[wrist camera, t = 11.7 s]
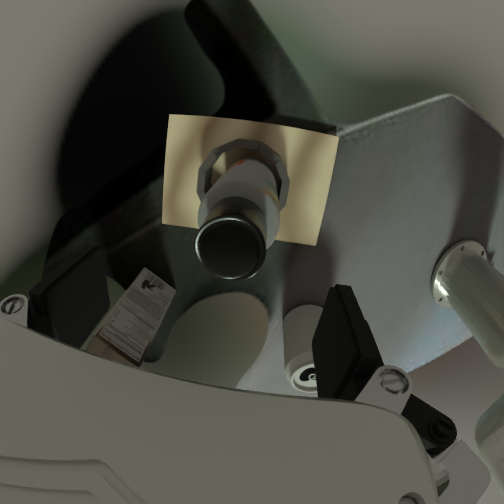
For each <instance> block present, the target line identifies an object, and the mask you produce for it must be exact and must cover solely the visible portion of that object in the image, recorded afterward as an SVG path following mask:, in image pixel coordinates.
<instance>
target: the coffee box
mask: <svg viewBox="0 0 504 504" xmlns="http://www.w3.org/2000/svg"><path fill="white" fill-rule="evenodd" d="M175 293H176V290H175V289H174V288H172V287H171V286H170V285H168V284H167V283H166V282H164V281H163V280H162V279H160V278H159V277H158V276H156V275H155V274H154V273H152V272H151V271H150V270H148V269H147V268H146V267H144V268H143V269H142V270H141V272H140V273H139V274H138V276H137V277H136V278H135V279H134V281H133V282H132V283H131V284H130V286H129V287H128V288H127V290H126V291H125V292H124V294H123V295H122V296H121V298H120V299H119V300H118V302H117V303H116V304H115V306H114V307H113V308H112V310H111V311H110V312H109V314H108V315H107V317H106V318H105V320H104V321H103V322H102V324H101V325H100V327H99V328H98V330H97V331H96V332H95V334H94V335H93V337H92V339H91V340H90V343H89V345H88V347H87V349H86V351H88V352H91V353H93V354H96V355H99V356H102V357H105V358H109V359H112V360H115V361H118V362H121V363H125V364H128V365H131V366H135V367H138V368H140V366H141V364H142V362H143V359H144V357H145V355H146V353H147V351H148V349H149V346H150V344H151V342H152V340H153V338H154V336H155V334H156V332H157V330H158V327H159V325H160V323H161V321H162V319H163V317H164V315H165V313H166V311H167V309H168V307H169V305H170V303H171V301H172V299H173V297H174V295H175Z"/></svg>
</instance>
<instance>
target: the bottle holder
mask: <svg viewBox="0 0 504 504" xmlns="http://www.w3.org/2000/svg"><path fill="white" fill-rule="evenodd" d="M338 140H339V137H337V136H332V135H328V134H323V133H319V132H314V131H309V130H304V129H299V128H293V127H288V126H282V125H276V124H269V123H263V122H255V121H248V120H239V119H230V118H220V117H208V116H194V115H193V116H192V115H172V114H170V116H169V124H168V134H167V145H166V157H165V171H164V188H163V214H162V223H163V224H170V225H178V226H185V227H192V228H199V227H198V220H197V217H198V210H199V206H200V203H201V201H202V199H203V198H204V196H205V195H206V193H207V192H208V191H209V190H210V188H211V187H212V186H213V185H214V184H215V183H216V182H217V181H218V180H219V179H220V177H221V176H222V175H223V174H224V173H225V172H226V171H227V170H228V169H229V168H230V167H231V166H232V165H233V164H234V163H235V162H237V161H238V160H240V159H243V158H249V157H252V158H257V159H260V160H262V161H264V162H265V163H267V164H268V165H269V167H270V168H271V169H272V171H273V174H274V177H275V182H276V189H277V195H278V202H279V209H280V227H279V231H278V234H277V236H276V238H275V240H281V241H287V242H294V243H300V244H307V245H313V246H316V243H317V239H318V235H319V230H320V226H321V222H322V218H323V213H324V209H325V204H326V200H327V195H328V191H329V186H330V181H331V176H332V172H333V167H334V161H335V156H336V151H337V146H338Z"/></svg>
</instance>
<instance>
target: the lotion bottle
mask: <svg viewBox="0 0 504 504" xmlns="http://www.w3.org/2000/svg"><path fill="white" fill-rule="evenodd" d="M197 220H198V227H199V230H198V232H197V234H196V237H195V241H194V250H195V254H196V256H197V258H198V260H199V262H200V263H201V264H202V266H203V267H204V268H205V269H207V270H208V271H209V272H210V273H212V274H214V275H215V276H217V277H220V278H222V279H226V280H230V281H241V280H245V279H248V278H250V277H252V276H253V275H255V274H256V273H257V272H258V271H259V270H260V268H261V267H262V265H263V263H264V260H265V256H266V249H267V248H268V247H269V246H270V245H271V244H272V243H273V241H274V240H275V238H276V236H277V234H278V231H279V227H280V209H279V202H278V195H277V189H276V182H275V177H274V174H273V171H272V169H271V168H270V167H269V165H268V164H267V163H265V162H264V161H262V160H260V159H257V158H252V157H249V158H243V159H240V160H238V161H237V162H235V163H234V164H233V165H232V166H231V167H230V168H229V169H228V170H227V171H226V172H225V173H224V174H223V175H222V176H221V177H220V179H219V180H218V181H217V182H216V183H215V184H214V185H213V186H212V187H211V188H210V190H209V191H208V192H207V193H206V195H205V196H204V198H203V199H202V201H201V203H200V206H199V210H198V217H197Z"/></svg>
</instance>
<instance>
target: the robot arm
mask: <svg viewBox="0 0 504 504" xmlns="http://www.w3.org/2000/svg"><path fill="white" fill-rule="evenodd" d="M431 292H432V296H433V297H434V299H435V301H436V302H437V303H438V304H439V305H440V306H442V307H445V308H453V309H454V310H455V311H456V313H457V314H458V315H459V317H460V318H461V319H462V321H463V322H464V323H465V325H466V326H467V327H468V329H469V330H470V331H471V333H472V334H473V336H474V337H475V338H476V340H477V341H478V343H479V344H480V346H481V347H482V348H483V350H484V351H485V353H486V354H487V356H488V357H489V359H490V360H491V361H492V363H493V364H495V365H496V366H498V367H500V368H503V369H504V276H503V275H502V274H501V273H500V272H499V271H498V270H497V269H495V268H494V267H493V266H492V265H491V264H490V263H488V262H487V254H486V251H485V249H484V248H483V246H482V245H481V244H479V243H478V242H476V241H474V240H463V241H460V242H458V243H456V244H454V245H453V246H452V247H450V248H449V249H448V250H447V251H446V252H445V253H444V255H443V256H442V257H441V259H440V260H439V262H438V264H437V265H436V268H435V270H434V272H433V276H432V280H431ZM29 294H30V298H31V299H30V300H29V301H28V299H27V298H26V297H25V296H23V295H20V294H16V295H12V296H9V297H7V298H5V299H4V300H2V301H1V303H0V504H476V503H477V501H478V500H479V499H480V497H481V496H482V495H483V493H484V492H485V490H486V489H487V487H488V485H489V483H490V479H491V477H492V479H493V480H494V482H495V484H496V486H497V487H498V489H499V491H500V493H501V495H502V497H503V499H504V393H503V394H502V395H501V396H500V397H499V398H498V399H497V400H496V401H495V402H494V403H493V404H492V405H491V406H490V407H489V408H488V409H487V410H486V411H485V413H483V415H482V416H481V417H480V418H479V420H478V421H477V423H476V424H475V427H474V431H473V439H474V444H475V447H476V449H477V452H478V454H479V456H480V458H481V459H482V461H483V462H482V461H481V460H480V458H479V457H478V456H477V455H476V454H475V453H474V452H473V451H472V450H471V449H470V448H469V447H468V446H467V444H466V443H465V442H463V440H462V439H461V440H460V441H458V440H457V439H456V436H457V430H456V427H455V424H454V423H453V421H452V420H451V419H450V418H449V417H447V416H446V415H444V414H442V413H441V412H439V411H438V410H436V409H435V408H433V407H431V406H430V405H428V404H427V403H425V402H424V401H422V400H420V399H419V398H417V397H416V396H414V395H413V394H411V392H412V388H413V384H412V380H411V378H410V376H409V375H408V374H407V373H406V372H405V371H404V370H402V369H401V368H398V367H396V366H391V365H385V366H384V363H383V361H382V358H381V355H380V353H379V350H378V347H377V345H376V342H375V340H374V337H373V335H372V332H371V330H370V327H369V325H368V323H367V321H366V320H365V319H364V317H363V314H362V312H361V309H360V307H359V304H358V302H357V300H356V297H355V295H354V293H353V290H352V288H351V286H347V285H340V284H336V285H335V287H331V288H330V289H329V292H328V295H327V298H326V301H325V304H324V307H323V310H322V313H321V316H320V319H319V322H318V325H317V328H316V330H315V333H314V336H313V339H312V353H313V361H314V368H315V376H316V384H317V392H318V398H317V397H305V396H292V395H282V394H274V393H265V392H257V391H249V390H242V389H235V388H229V387H223V386H217V385H212V384H207V383H202V382H197V381H191V380H187V379H182V378H178V377H174V376H169V375H165V374H161V373H157V372H153V371H149V370H146V369H142V368H138V367H135V366H131V365H128V364H125V363H121V362H118V361H115V360H112V359H109V358H105V357H102V356H99V355H96V354H93V353H91V352H88V351H85V350H82V349H80V347H81V346H82V345H83V343H84V342H85V341H86V339H87V338H88V336H89V335H90V334H91V332H92V331H93V330H94V328H95V327H96V326H97V324H98V323H99V321H100V320H101V319H102V317H103V316H104V315H105V314H106V312H107V311H108V309H109V306H110V300H109V294H108V287H107V280H106V273H105V265H104V256H103V251H102V250H101V249H100V247H99V246H98V245H92V244H85V245H84V246H83V247H81V248H80V249H79V250H77V251H76V252H75V253H74V254H72V255H71V256H70V257H69V258H67V259H66V260H65V261H64V262H62V263H61V264H60V265H59V266H58V267H56V268H55V269H54V270H53V271H52V272H50V273H49V274H48V275H47V276H46V277H45V278H43V279H42V280H41V281H40V282H39V283H38V284H37V285H35V286H34V287H33V288H32V289H31V290H30V291H29Z"/></svg>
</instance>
